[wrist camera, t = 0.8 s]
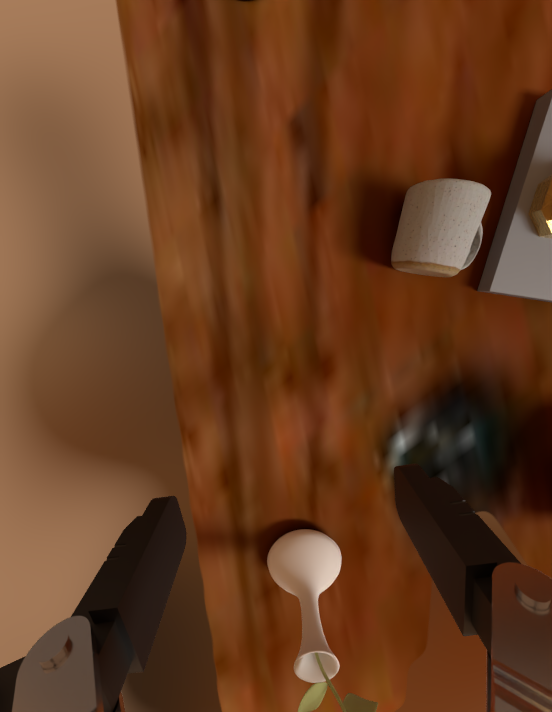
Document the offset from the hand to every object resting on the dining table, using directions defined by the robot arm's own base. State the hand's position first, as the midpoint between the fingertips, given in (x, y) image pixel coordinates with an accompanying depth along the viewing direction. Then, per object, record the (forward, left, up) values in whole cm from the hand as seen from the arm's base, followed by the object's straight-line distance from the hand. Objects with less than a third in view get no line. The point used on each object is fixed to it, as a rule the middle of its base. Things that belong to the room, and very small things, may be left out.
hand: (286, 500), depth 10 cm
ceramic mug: (-16, +16, -27) cm, 35 cm away
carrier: (-21, +35, -26) cm, 48 cm away
